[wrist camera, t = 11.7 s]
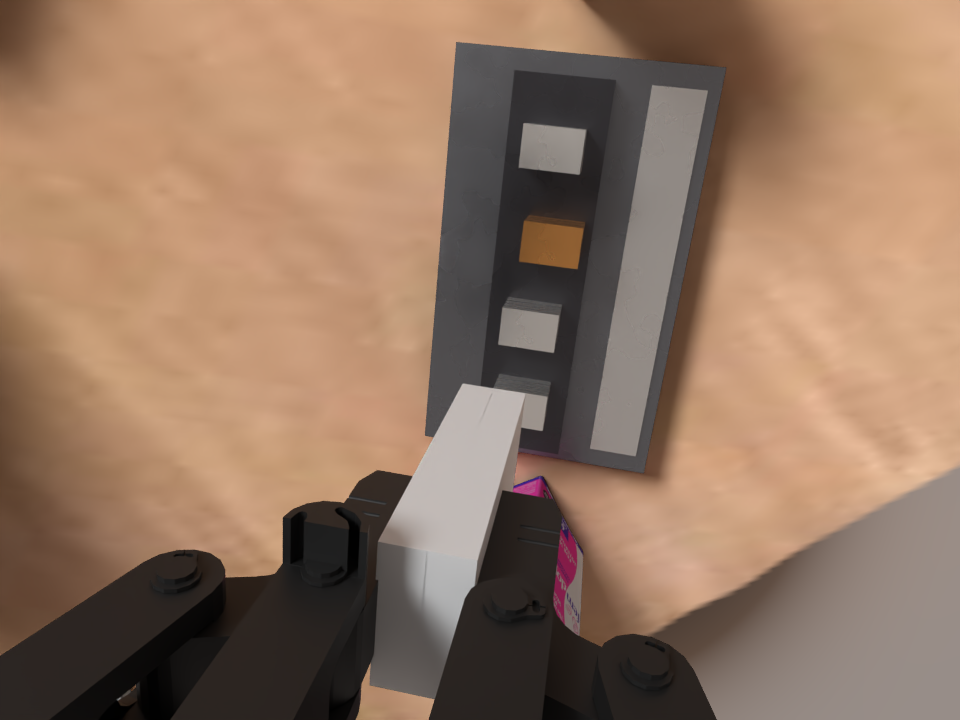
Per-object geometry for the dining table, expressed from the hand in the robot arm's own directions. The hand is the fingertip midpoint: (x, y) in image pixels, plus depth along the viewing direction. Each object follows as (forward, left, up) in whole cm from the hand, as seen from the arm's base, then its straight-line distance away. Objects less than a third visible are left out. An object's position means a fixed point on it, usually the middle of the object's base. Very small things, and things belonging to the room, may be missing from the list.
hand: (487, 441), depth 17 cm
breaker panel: (0, 0, -21) cm, 21 cm away
